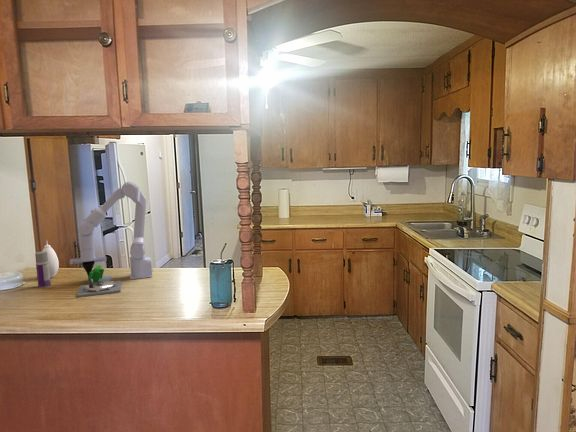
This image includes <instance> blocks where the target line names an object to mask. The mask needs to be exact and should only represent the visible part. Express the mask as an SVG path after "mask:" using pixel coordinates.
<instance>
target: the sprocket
mask: <svg viewBox="0 0 576 432" xmlns="http://www.w3.org/2000/svg"><path fill="white" fill-rule="evenodd" d="M113 281H114V280H111V281H100V282H94V281H93V279H89V282H88V285H87V284H85V285H86V286H83V289H86V291H87V292H88V291H96V292H99V291H102V290H107V289H111V288H112V287H114V286H116V283H114V282H113Z"/></svg>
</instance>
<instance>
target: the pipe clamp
mask: <svg viewBox="0 0 576 432" xmlns="http://www.w3.org/2000/svg"><path fill="white" fill-rule="evenodd" d="M104 272H105V269H104V268H102V266H101V265H100V264H98V265H97V266H96V267H93V268H92V271H91V272H90V273H89V277H88V276H87V281H86V282H87V283H89V279H93V282H94V281H96V282H99V278H101V279H102V277H104V276H103V275H104Z"/></svg>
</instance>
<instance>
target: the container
mask: <svg viewBox="0 0 576 432" xmlns="http://www.w3.org/2000/svg"><path fill="white" fill-rule="evenodd" d="M34 254H35V266H36V277H37V284H38V285H37V286H38V288H41V289H43V288H48V287H51V285H52V284H51V283H52V282H51V278H50V272H49V262H48V255H47V252H46V251H44V252H42V251H37V252H35V253H34Z"/></svg>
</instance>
